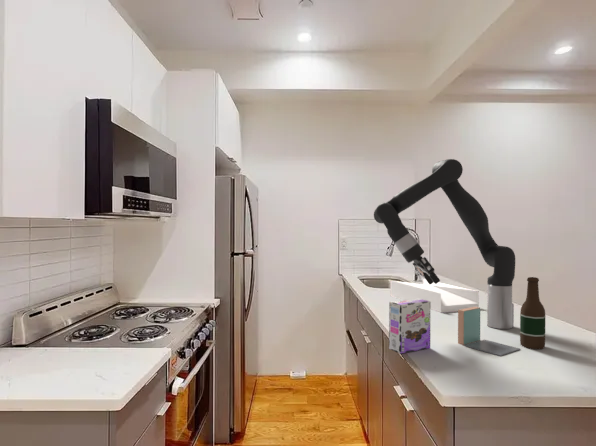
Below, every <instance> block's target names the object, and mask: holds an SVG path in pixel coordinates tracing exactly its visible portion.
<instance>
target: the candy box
mask: <svg viewBox="0 0 596 446" xmlns="http://www.w3.org/2000/svg"><path fill="white" fill-rule="evenodd" d="M388 312H389V313H388V316H389V317H388V319H389V320H388V322H389V325H388V327H389V328H388V349H389V350H391V351H393V352H395V353H397V354H399V355H401V354H406V353H411V352H417V351H422V350H427V349H431V309H430V301H427V300H422V299H413V300H397V301H396V300H395V301H389V311H388Z"/></svg>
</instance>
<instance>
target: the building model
mask: <svg viewBox="0 0 596 446" xmlns="http://www.w3.org/2000/svg"><path fill="white" fill-rule="evenodd" d="M422 281H423V283H417V282H416V283H415V282H407V281H401V280H400V281H397V280H390V283H389V284H390V297H392V298H395V299H399V300H400V301H404V300H413V299H422V300H427V301H430V311H435V312H436V313H440V314H442V313H452V312H454V313H455V312H456V313H457V312H458V310H460V309H465V308H470V307H479V303H480V302H479V299H480V298H479V297H480V295H479V290H474V289H470V288H465V287H462V286H461V287H460V286H457V285H454V284H453V285H452V284H448V283H443V282H441V281H440V282H438V283H437V284H435V283H434V282H433V283H432V284H429V283H428V282H427V280H426V279H425V278H423V280H422ZM479 308H480V307H479Z"/></svg>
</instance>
